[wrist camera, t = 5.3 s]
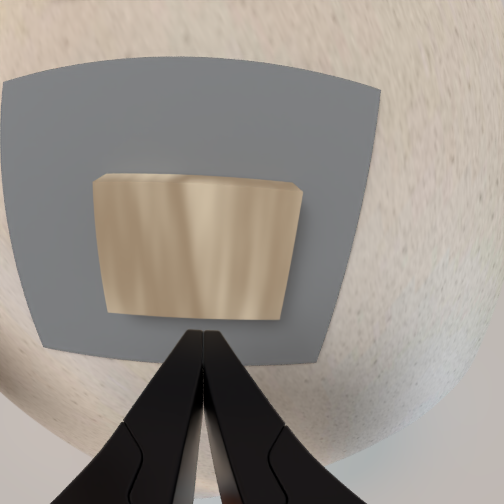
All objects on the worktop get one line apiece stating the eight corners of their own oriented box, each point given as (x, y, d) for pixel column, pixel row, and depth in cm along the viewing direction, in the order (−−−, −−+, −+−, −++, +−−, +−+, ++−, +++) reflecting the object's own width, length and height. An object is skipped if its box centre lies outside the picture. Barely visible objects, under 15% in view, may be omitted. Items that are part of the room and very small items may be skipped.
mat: (45, 343, 15) (43, 347, 15) (7, 82, 8) (3, 82, 8) (314, 357, 18) (316, 362, 18) (376, 90, 11) (380, 89, 11)
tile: (107, 312, 12) (279, 319, 13) (92, 182, 10) (303, 191, 11) (116, 292, 14) (273, 298, 15) (107, 173, 11) (292, 182, 12)
